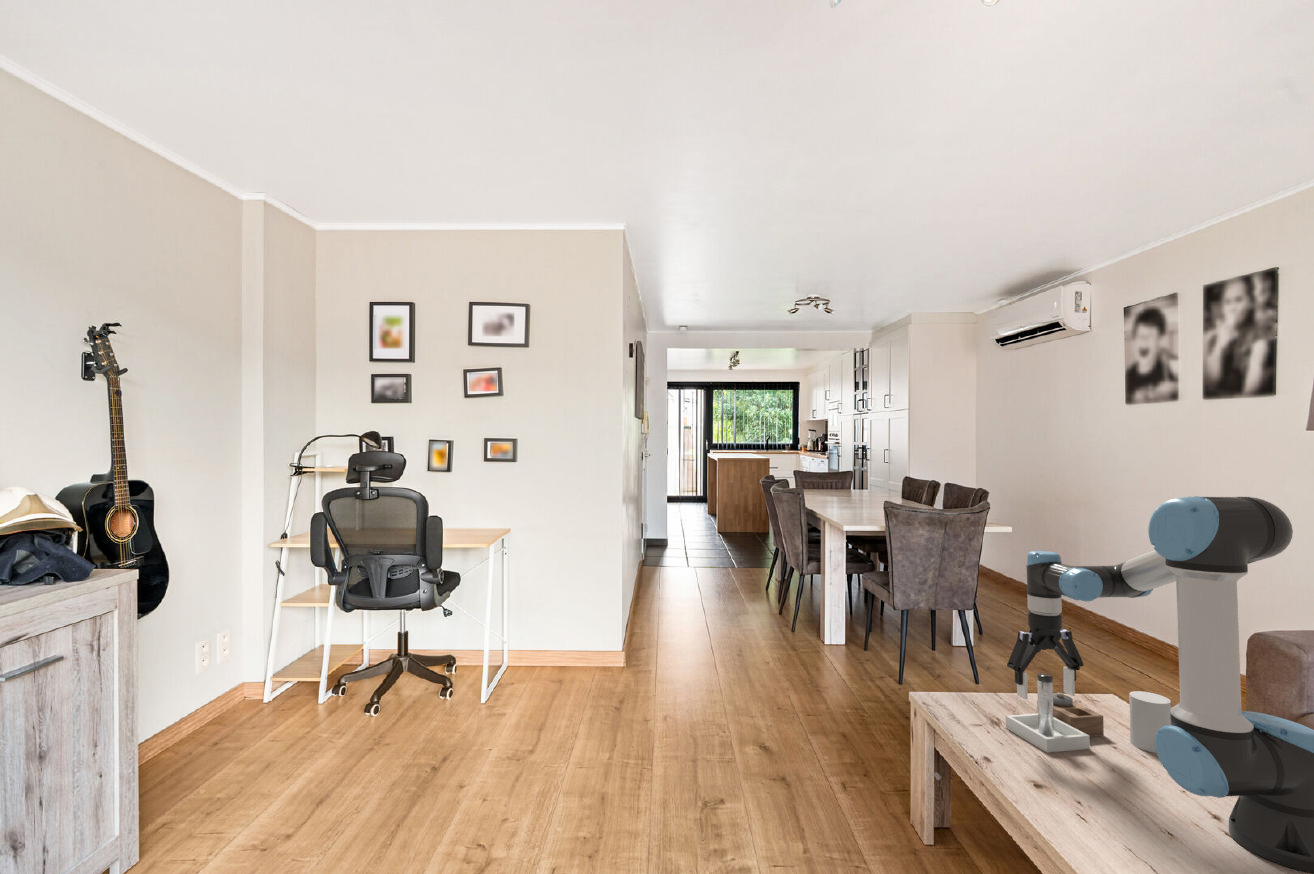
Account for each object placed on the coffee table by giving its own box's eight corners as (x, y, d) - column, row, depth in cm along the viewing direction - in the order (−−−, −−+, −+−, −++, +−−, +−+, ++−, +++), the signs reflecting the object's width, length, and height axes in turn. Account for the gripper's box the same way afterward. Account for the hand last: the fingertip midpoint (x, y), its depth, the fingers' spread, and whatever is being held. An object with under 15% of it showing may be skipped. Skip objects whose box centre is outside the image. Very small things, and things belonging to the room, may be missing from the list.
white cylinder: (1178, 749, 155) (1177, 700, 156) (1160, 756, 152) (1159, 705, 152) (1141, 736, 163) (1140, 689, 163) (1123, 742, 159) (1122, 694, 160)
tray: (1089, 748, 156) (1089, 735, 156) (1046, 752, 154) (1046, 739, 154) (1045, 724, 169) (1045, 712, 169) (1005, 727, 167) (1005, 715, 167)
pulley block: (1103, 735, 163) (1103, 705, 163) (1073, 737, 162) (1072, 707, 162) (1066, 716, 175) (1065, 688, 175) (1037, 718, 173) (1037, 690, 174)
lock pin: (1057, 737, 160) (1055, 677, 161) (1045, 738, 159) (1044, 678, 160) (1046, 732, 163) (1045, 672, 164) (1035, 733, 163) (1034, 673, 163)
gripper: (1074, 606, 168) (1076, 687, 167) (991, 610, 164) (992, 692, 163) (1099, 613, 161) (1100, 697, 160) (1011, 617, 156) (1013, 704, 156)
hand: (1045, 695), depth 162 cm, fingers open, 13 cm apart
